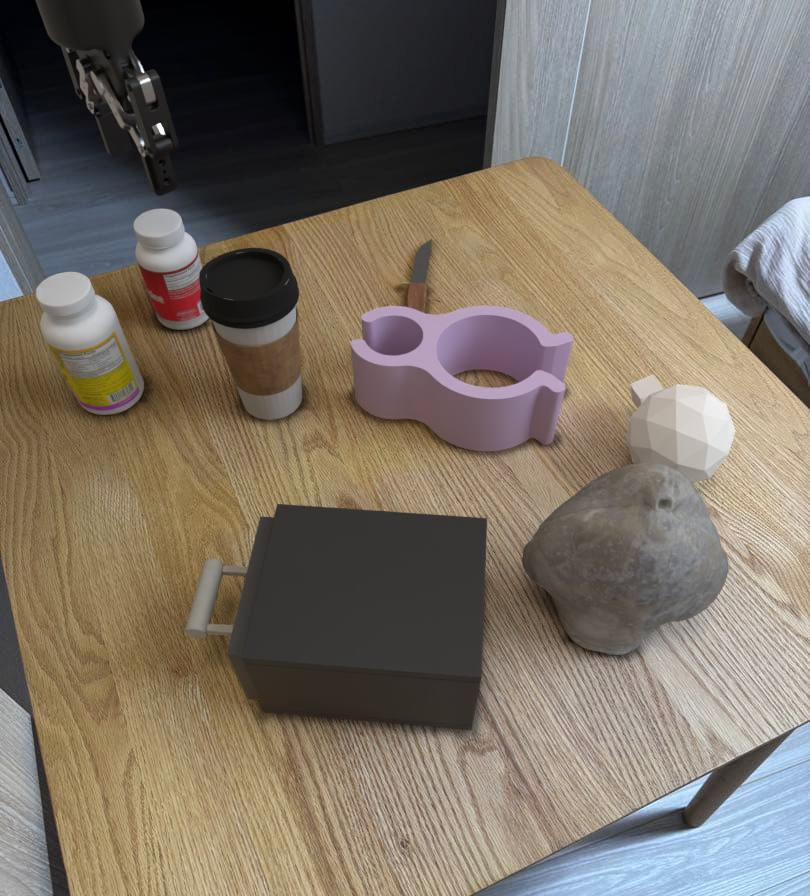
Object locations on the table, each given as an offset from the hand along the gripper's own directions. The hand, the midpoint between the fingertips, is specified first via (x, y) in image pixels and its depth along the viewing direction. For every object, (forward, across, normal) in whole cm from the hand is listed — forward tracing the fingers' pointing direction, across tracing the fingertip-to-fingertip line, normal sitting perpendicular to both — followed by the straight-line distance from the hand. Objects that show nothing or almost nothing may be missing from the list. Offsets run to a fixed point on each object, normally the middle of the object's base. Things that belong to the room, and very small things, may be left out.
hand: (142, 171), depth 69 cm
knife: (+16, -13, -22) cm, 30 cm away
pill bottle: (+16, 0, 0) cm, 16 cm away
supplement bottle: (+16, -6, +12) cm, 21 cm away
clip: (+16, -29, -14) cm, 36 cm away
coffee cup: (+16, -17, 0) cm, 24 cm away
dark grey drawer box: (+16, -45, +9) cm, 49 cm away
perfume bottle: (+17, -47, -24) cm, 55 cm away
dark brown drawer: (+15, -42, +12) cm, 46 cm away
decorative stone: (+16, -54, -8) cm, 57 cm away
